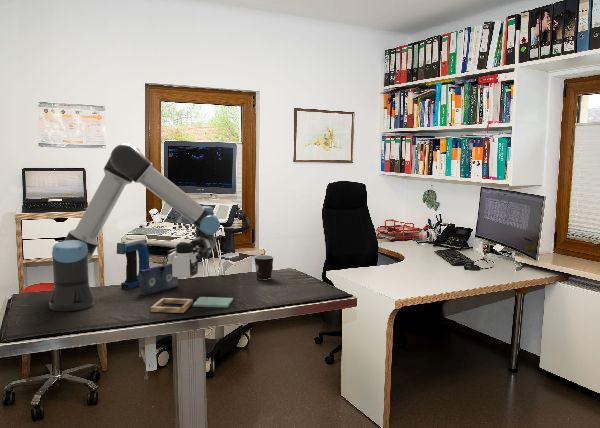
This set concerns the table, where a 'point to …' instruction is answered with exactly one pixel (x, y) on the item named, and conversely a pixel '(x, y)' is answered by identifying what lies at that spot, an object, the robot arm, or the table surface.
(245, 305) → the table surface
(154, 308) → the oak cradle
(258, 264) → the coffee mug
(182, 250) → the medicine bottle
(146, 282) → the vhs cassette tape
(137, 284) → the handheld scanner
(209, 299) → the rubber mat
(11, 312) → the table surface
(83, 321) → the table surface
